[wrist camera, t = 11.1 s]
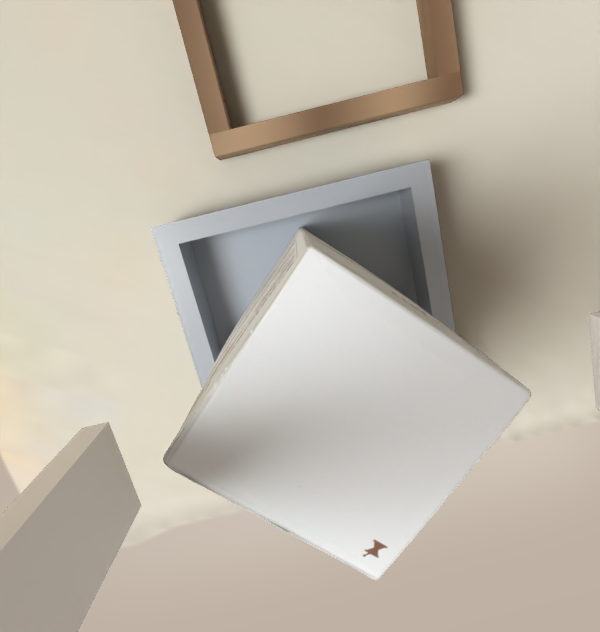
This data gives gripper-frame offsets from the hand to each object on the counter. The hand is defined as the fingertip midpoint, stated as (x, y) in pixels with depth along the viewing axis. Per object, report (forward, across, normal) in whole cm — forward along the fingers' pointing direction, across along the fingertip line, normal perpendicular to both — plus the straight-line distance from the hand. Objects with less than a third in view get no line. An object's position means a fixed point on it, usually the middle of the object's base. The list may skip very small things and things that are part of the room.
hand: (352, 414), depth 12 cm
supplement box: (+12, 0, 0) cm, 12 cm away
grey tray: (+13, 0, 0) cm, 13 cm away
